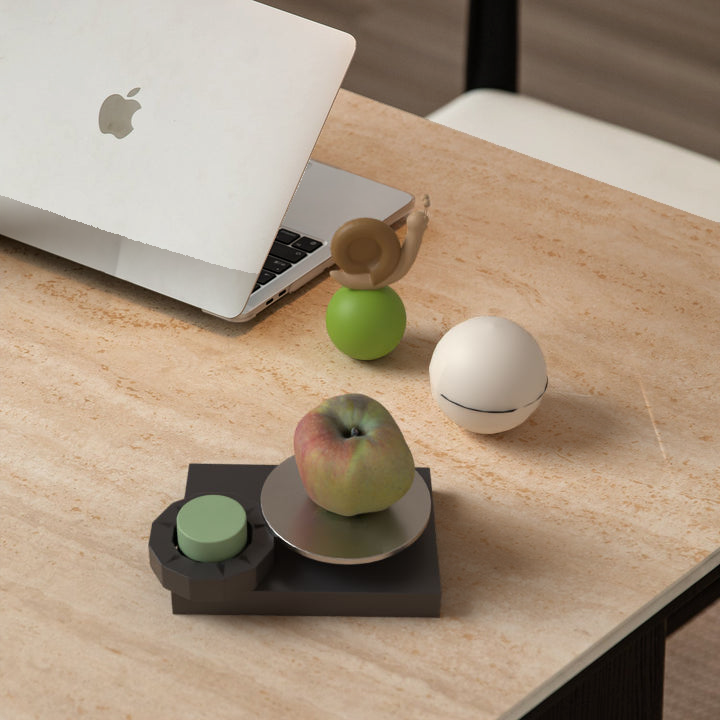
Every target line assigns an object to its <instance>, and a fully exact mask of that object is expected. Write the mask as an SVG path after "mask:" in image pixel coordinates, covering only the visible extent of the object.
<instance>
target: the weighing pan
mask: <svg viewBox="0 0 720 720" xmlns="http://www.w3.org/2000/svg"><path fill="white" fill-rule="evenodd" d="M277 465H278V466H277V467H276V468H275V469H274V470H273V471H272V472H271V473H270V475H269V476H268V478H267V479H266V481H265V483H264V486H263V488H262V492H261V512H262V517H263V519H264V522H265V524H266V526H267V527H268V529H269V530H270V532H271V533H272V534H273V535H274V536H275V538H276V539H277V540H279V541H280V542H281V543H282V544H283V545H285V546H286V547H288V548H289V549H291V550H292V551H294V552H296V553H298V554H300V555H302V556H305V557H308V558H310V559H314V560H317V561H321V562H326V563H333V564H346V565H347V564H363V563H370V562H374V561H379V560H382V559H385V558H388V557H391V556H393V555H395V554H397V553H399V552H401V551H403V550H404V549H406V548H407V547H409V546H410V545H411V544H412V543H413V542H415V541H416V540H417V538H418V537H419V536H420V535H421V534H422V532H423V531H424V529H425V528H426V525H427V523H428V521H429V517H430V511H431V498H430V493H429V490H428V488H427V485H426V483H425V482H424V480H423V478H422V477H421V476H420V475H419V473H418V472H417V471H416V470H415V476H414V481H413V484H412V486H411V488H410V489H409V491H408V492H407V493H406V494H405V495H404V497H402V498H401V499H400V500H399V501H397V502H396V503H394V504H393V505H392V506H390V507H388V508H387V509H385V510H382V511H377V512H367V513H361V514H357V515H354V516H343V515H340V514H337V513H334V512H331V511H328V510H326V509H325V508H322V507H321V506H319V505H317V504H316V503H315V502H314V501H313V500H312V499H311V498H310V497H309V495H308V493H307V492H306V489H305V487H304V484H303V482H302V479H301V476H300V473H299V469H298V466H297V463H296V458H295V454H293V455H290V456H288V457H287V458H286V459H285V460H283V461H282V462H280V463H279V464H277Z"/></svg>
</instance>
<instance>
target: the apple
mask: <svg viewBox="0 0 720 720" xmlns="http://www.w3.org/2000/svg"><path fill="white" fill-rule="evenodd" d="M293 451H294V453H293V454H294V455H295V458H296V463H297V466H298V469H299V473H300V476H301V479H302V482H303V484H304V487H305V489H306V492H307V493H308V495H309V497H310V498H311V499H312V500H313V501H314V502H315V503H316V504H317V505H319V506H321V507H322V508H325V509H326V510H328V511H331V512H334V513H337V514H340V515H343V516H354V515H357V514H361V513H367V512H377V511H382V510H385V509H387V508H388V507H390V506H392V505H393V504H394V503H396V502H397V501H399V500H400V499H401V498H402V497H404V495H405V494H406V493H407V492H408V491H409V489H410V488H411V486H412V484H413V481H414V476H415V467H416V463H415V460H414V456H413V453H412V451H411V449H410V447H409V445H408V443H407V442H406V439H405V437H404V435H403V432H402V430H401V428H400V426H399V425H398V423H397V421H396V420H395V418H394V417H393V415H392V413H390V411H389V410H388V409H387V408H386V407H385V406H384V405H383V404H382V403H381V402H380V401H378V400H376V399H374V398H373V397H370V396H369V395H367V394H364V393H359V392H358V393H355V392H354V393H353V392H352V393H350V392H349V393H344V394H340V395H336V396H332V397H329V398H326V399H324V400H323V401H321V402H320V403H319V404H318V405H317V406H315V407H314V408H313V409H311V410H309V411H308V412H307V413H306V414H305V415H303V416H302V418H301V419H300V420H299V421H298V423H297V425H296V427H295V430H294V433H293Z"/></svg>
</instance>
